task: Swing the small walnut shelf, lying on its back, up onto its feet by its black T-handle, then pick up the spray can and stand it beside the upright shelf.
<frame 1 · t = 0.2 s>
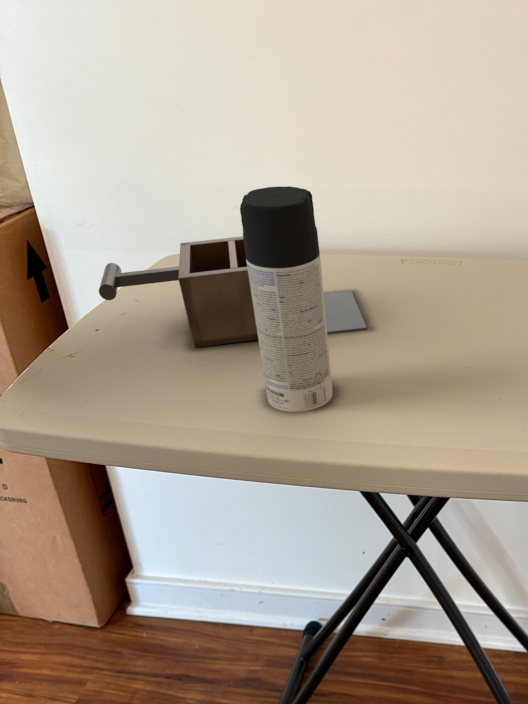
spray can: (301, 404, 78), on the table
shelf: (200, 292, 89), point 5 cm above the table, hinge at 91.1°
shelf stand: (327, 319, 94), on the table
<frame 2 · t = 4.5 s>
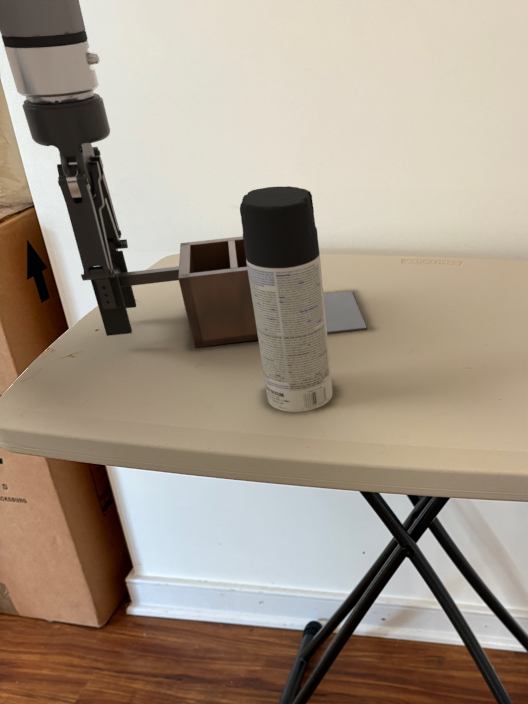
hand: (122, 319, 89), 3 cm above the table, tool pointing down, fingers closed on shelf, 7 cm apart
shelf: (200, 292, 89), point 5 cm above the table, hinge at 91.1°, touching gripper
everything else where it was.
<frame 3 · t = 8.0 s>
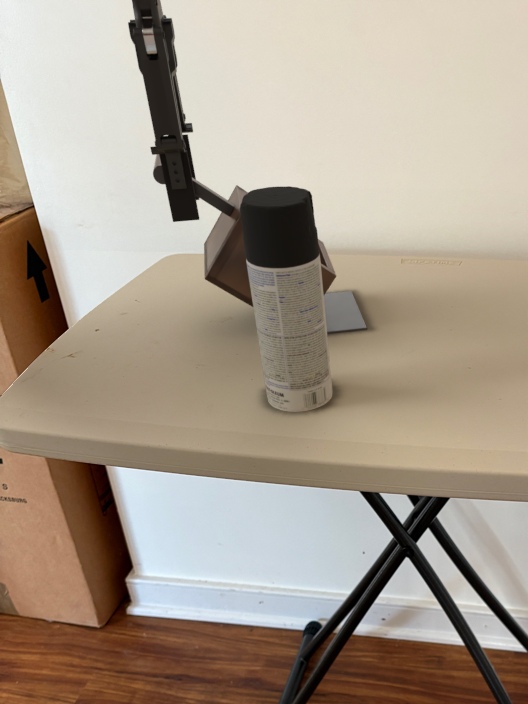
hand: (186, 209, 83), 14 cm above the table, tool pointing down, fingers closed on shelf, 7 cm apart
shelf: (233, 238, 86), point 11 cm above the table, hinge at 52.0°, touching gripper
everything else where it was.
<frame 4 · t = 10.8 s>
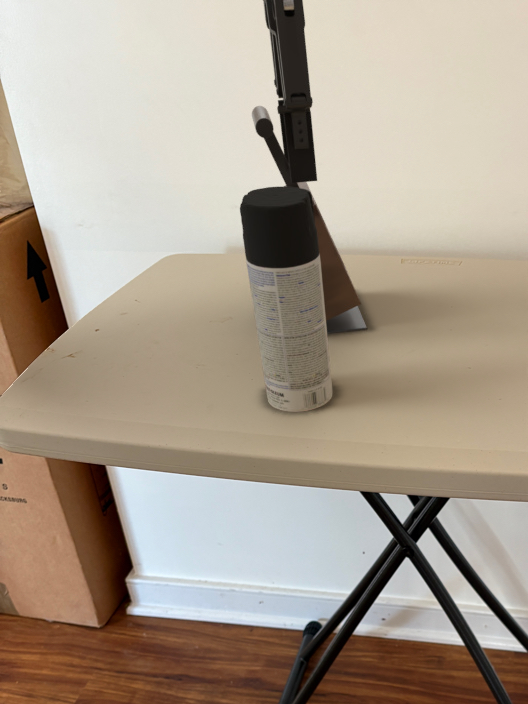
hand: (300, 172, 83), 17 cm above the table, tool pointing down, fingers open, 6 cm apart
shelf: (283, 218, 85), point 12 cm above the table, hinge at 20.4°
everything else where it was.
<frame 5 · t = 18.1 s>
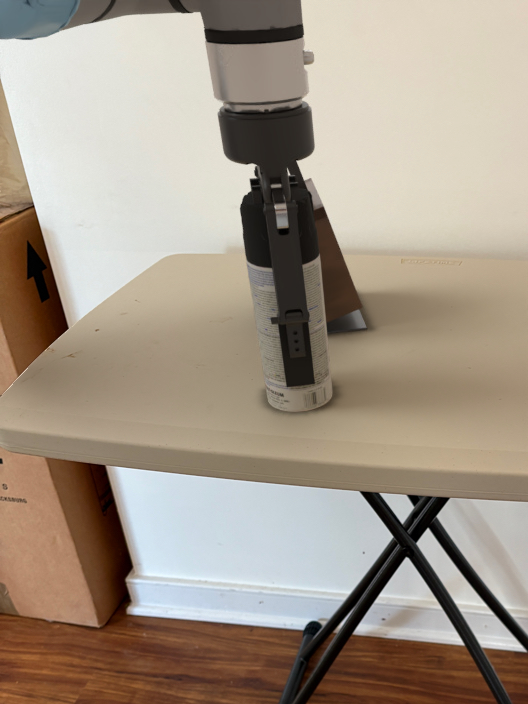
hand: (296, 366, 75), 4 cm above the table, tool pointing down, fingers closed on spray can, 7 cm apart
spray can: (301, 404, 78), on the table, touching gripper
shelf: (289, 218, 86), point 12 cm above the table, hinge at 17.0°
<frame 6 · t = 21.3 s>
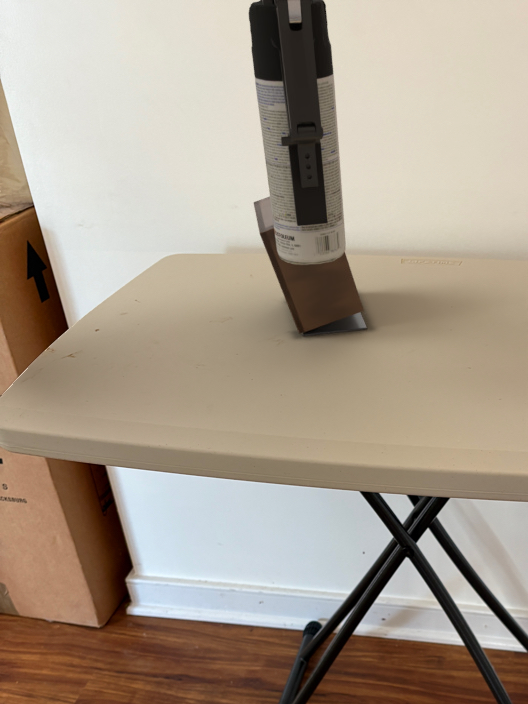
hand: (307, 211, 71), 17 cm above the table, tool pointing down, fingers closed on spray can, 7 cm apart
spray can: (312, 256, 73), point 13 cm above the table, touching gripper
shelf: (294, 218, 86), point 12 cm above the table, hinge at 14.1°
when the fingers open (4 cm above the table, at t = 24.5 s): spray can stays where it is, on the table.
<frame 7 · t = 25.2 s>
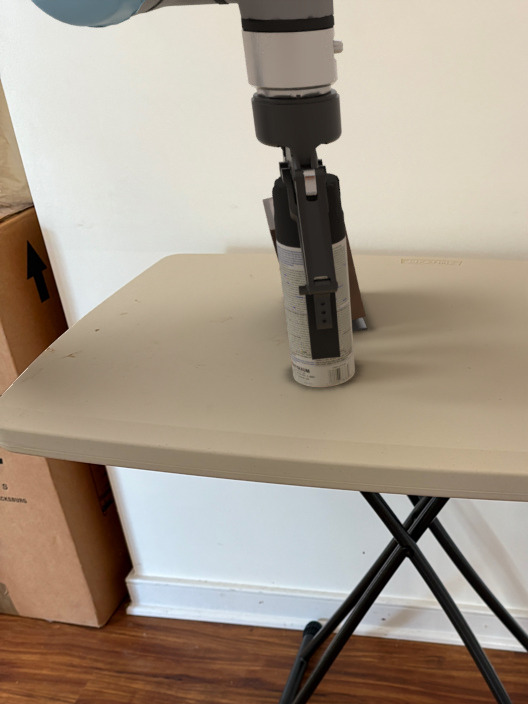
hand: (317, 329, 78), 6 cm above the table, tool pointing down, fingers open, 12 cm apart
spray can: (325, 380, 82), on the table
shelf: (303, 219, 86), point 12 cm above the table, hinge at 8.8°, touching gripper, hand
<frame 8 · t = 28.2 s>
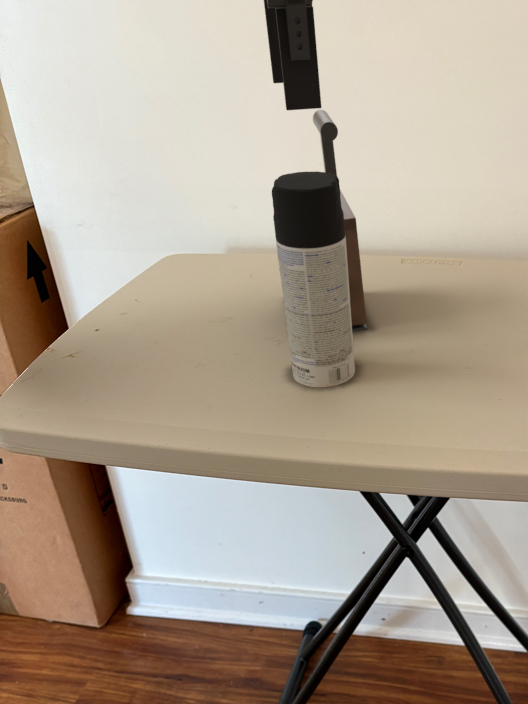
hand: (295, 94, 65), 27 cm above the table, tool pointing down, fingers open, 13 cm apart
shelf: (314, 221, 86), point 12 cm above the table, hinge at 2.5°
everything else where it was.
at the end: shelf at +2° (first picture: +91°); spray can inside the target area on the table beside the shelf stand (0.1 cm from its centre), on the table; spray can tilted 0° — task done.
